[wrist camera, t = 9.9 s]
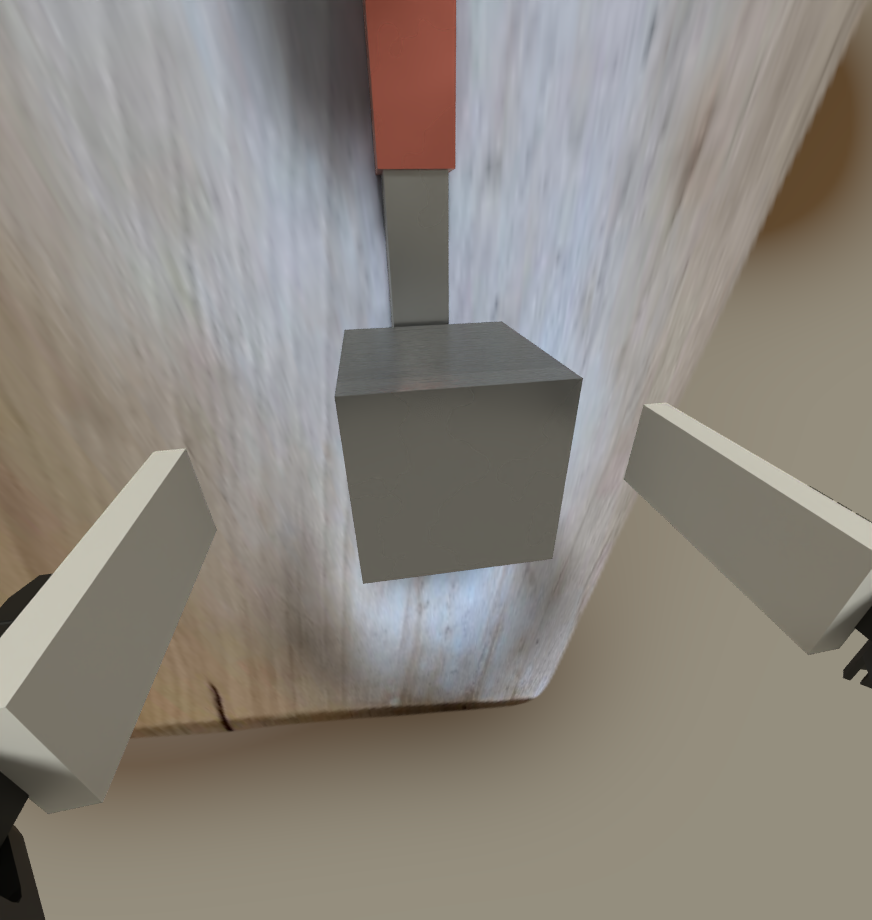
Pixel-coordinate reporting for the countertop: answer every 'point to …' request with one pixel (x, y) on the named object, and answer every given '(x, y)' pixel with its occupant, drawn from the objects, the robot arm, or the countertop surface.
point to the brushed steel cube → (453, 446)
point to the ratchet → (414, 147)
